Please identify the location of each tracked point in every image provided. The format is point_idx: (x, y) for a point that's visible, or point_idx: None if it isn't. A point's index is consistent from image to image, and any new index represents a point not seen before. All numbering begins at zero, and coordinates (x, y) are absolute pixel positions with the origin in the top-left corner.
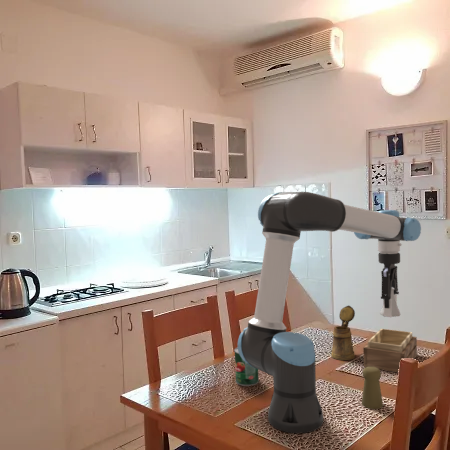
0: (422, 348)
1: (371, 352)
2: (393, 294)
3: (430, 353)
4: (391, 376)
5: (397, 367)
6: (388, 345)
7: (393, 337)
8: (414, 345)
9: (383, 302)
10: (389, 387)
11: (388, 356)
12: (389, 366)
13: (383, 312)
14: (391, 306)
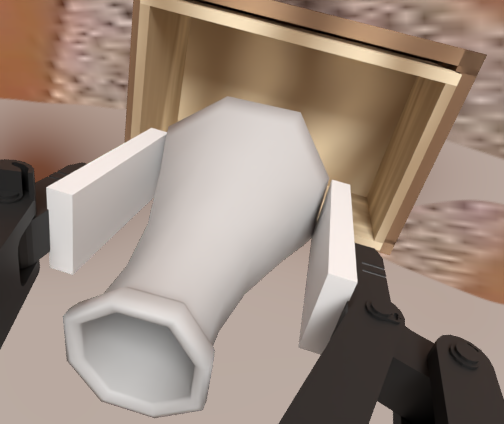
0: (475, 245)
1: None
2: (169, 330)
3: (406, 263)
4: (116, 101)
5: None
6: (135, 114)
7: (405, 142)
8: None
9: (75, 171)
10: (22, 92)
11: None
12: None
13: (174, 134)
14: (112, 229)
